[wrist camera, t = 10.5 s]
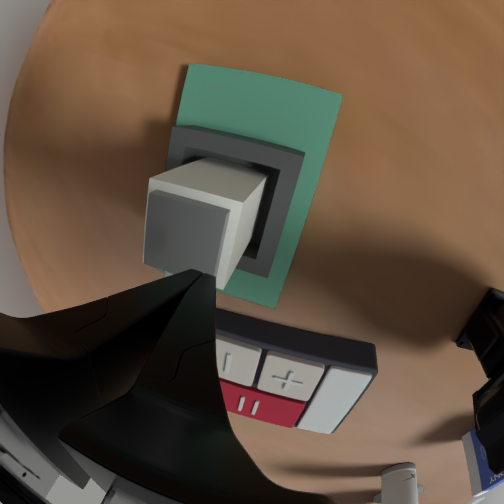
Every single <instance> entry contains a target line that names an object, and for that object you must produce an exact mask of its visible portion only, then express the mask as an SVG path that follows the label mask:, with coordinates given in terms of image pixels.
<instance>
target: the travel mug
mask: <svg viewBox="0 0 504 504" xmlns="http://www.w3.org/2000/svg"><path fill="white" fill-rule="evenodd" d="M381 480H382V481H381V504H418V492H417V478H416V467H415V464H413V463H402V464H397V465H394V466H391V467H388V468H386V469H385V470H383V471H382V473H381Z"/></svg>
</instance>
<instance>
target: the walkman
mask: <svg viewBox="0 0 504 504" xmlns="http://www.w3.org/2000/svg"><path fill="white" fill-rule="evenodd" d="M462 441H463V446H464V450H465V455H466V460H467V465H468V471H469V477H470V483H471V490H472V497H474V496H475V497H476V496H480V495H481V494H483V493H485V492H487V491H489V490H490V489H492V488H494V487H495V486H497V485H499V484H501V483H502V482H504V473H503V472H501V473H500V474H498V475H497V474H495V473H493V472H492V471H491V470H490V469H489V466H488V461H487V455H486V451H485V448H484V447H483V446H482V444H481V443H480V442H479V440H478V438H477V436H476V429H475V428H473V429H472V430H471V431H469V432H468V433H467V434H465V435H464V436H462Z"/></svg>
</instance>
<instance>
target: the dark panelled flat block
mask: <svg viewBox="0 0 504 504" xmlns="http://www.w3.org/2000/svg"><path fill="white" fill-rule="evenodd" d="M216 356H217V368H218V374H219V380H220V384H221V389H222V393H223V397H224V402H225V406H226V410H227V411H230V412H233V413H236V414H240V415H243V416H246V417H250V418H253V419H257V420H260V421H264V422H268V423H272V424H276V425H280V426H284V427H289V428H292V427H293V426H294V427H298V428H300V429H305V430H310V431H315V432H320V433H326V434H330V433H333V432H334V431H335V430H336V429H337V428H338V427H339V425H340V424H341V423H342V422H343V420H344V419H345V418H346V417H347V415H348V414H349V413H350V411H351V410H352V409H353V407H354V406H355V405H356V403H357V402H358V401H359V399H360V398H361V397H362V395H363V394H364V392H365V391H366V390H367V388H368V387H369V385H370V384H371V382H372V381H373V380H374V378H375V377H376V375H377V373H378V366H377V357H376V348H375V345H374V344H371V343H366V342H361V341H355V340H350V339H345V338H340V337H335V336H331V337H327V336H323V335H319V334H315V333H311V332H307V331H303V330H299V329H295V328H291V327H288V326H284V325H280V324H276V323H272V322H268V321H264V320H260V319H256V318H252V317H248V316H245V315H241V314H237V313H233V312H229V311H226V310H222V309H218V308H216Z"/></svg>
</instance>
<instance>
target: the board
mask: <svg viewBox="0 0 504 504" xmlns="http://www.w3.org/2000/svg"><path fill="white" fill-rule="evenodd" d="M342 97H343V95H341V94H338V93H335V92H332V91H329V90H325V89H322V88H318V87H315V86H311V85H308V84H304V83H300V82H296V81H292V80H288V79H284V78H280V77H275V76H270V75H266V74H261V73H255V72H250V71H244V70H238V69H232V68H225V67H218V66H210V65H200V64H189V68H188V72H187V76H186V80H185V84H184V88H183V93H182V97H181V102H180V106H179V111H178V116H177V121H176V126H172V131H171V137H170V142H169V148H168V154H167V160H166V167H165V172H166V171H169V170H172V169H175V168H177V167H180V166H183V165H186V164H188V163H191V162H194V161H197V160H200V159H203V158H206V157H210V158H214V159H218V160H223V161H227V162H231V163H235V164H239V165H242V166H246V167H250V168H254V169H258V170H261V171H265V172H269V173H270V175H269V178H268V182H267V186H266V190H265V194H264V198H263V201H262V205H261V209H260V213H259V217H258V220H257V224H256V228H255V232H254V234H253V236H252V238H251V240H250V241H249V243H248V245H247V247H246V249H245V251H244V252H243V254H242V256H241V258H240V260H239V262H238V264H237V265H236V267H235V269H234V271H233V273H232V275H231V277H230V278H229V280H228V282H227V284H226V286H225V288H224V290H221V289H218V288H216V291H220V292H223V293H226V294H229V295H232V296H235V297H238V298H241V299H244V300H247V301H250V302H254V303H257V304H260V305H263V306H266V307H270V308H273V309H275V308H276V305H277V302H278V299H279V297H280V294H281V291H282V288H283V285H284V283H285V280H286V277H287V274H288V271H289V268H290V265H291V262H292V259H293V257H294V254H295V251H296V248H297V245H298V242H299V239H300V236H301V233H302V230H303V227H304V224H305V221H306V218H307V214H308V211H309V208H310V205H311V202H312V199H313V196H314V192H315V189H316V186H317V183H318V180H319V176H320V173H321V170H322V167H323V163H324V160H325V157H326V153H327V150H328V146H329V143H330V140H331V136H332V133H333V129H334V126H335V122H336V119H337V115H338V111H339V108H340V104H341V100H342ZM157 270H159V271H162V272H164V273H165V271H164V270H161V269H158V268H157Z"/></svg>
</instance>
